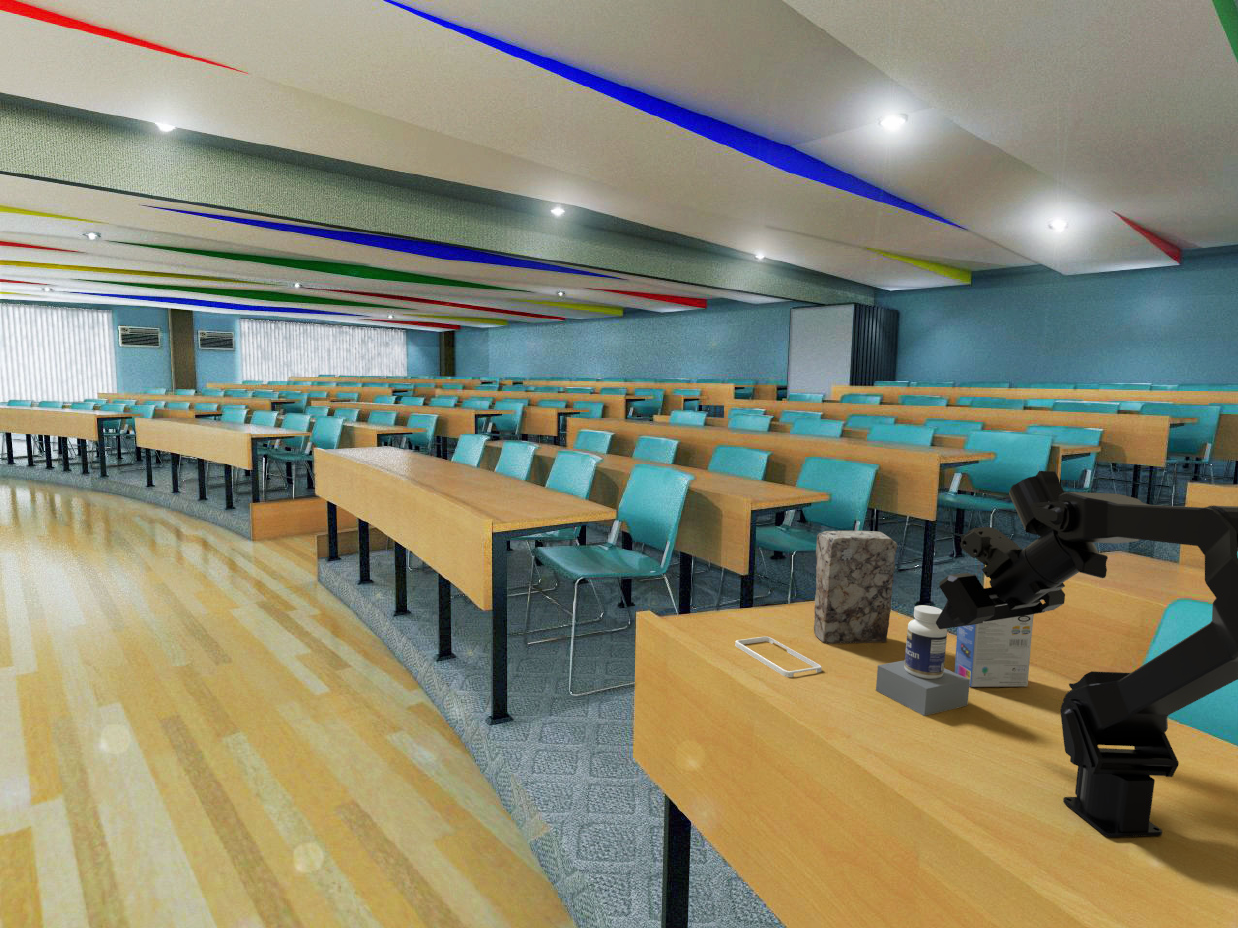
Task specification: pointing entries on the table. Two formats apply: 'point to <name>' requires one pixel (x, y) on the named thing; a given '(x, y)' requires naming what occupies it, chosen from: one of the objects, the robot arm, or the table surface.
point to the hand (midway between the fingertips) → (960, 621)
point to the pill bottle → (925, 644)
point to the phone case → (783, 672)
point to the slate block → (922, 689)
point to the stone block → (853, 586)
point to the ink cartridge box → (995, 652)
